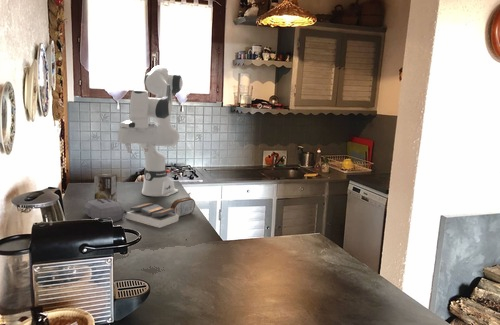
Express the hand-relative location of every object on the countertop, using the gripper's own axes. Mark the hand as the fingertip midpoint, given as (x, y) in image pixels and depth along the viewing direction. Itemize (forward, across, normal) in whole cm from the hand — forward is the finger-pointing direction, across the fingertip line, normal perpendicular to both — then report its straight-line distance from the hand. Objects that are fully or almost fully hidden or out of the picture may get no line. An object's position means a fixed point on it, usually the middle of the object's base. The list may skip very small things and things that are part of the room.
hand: (138, 152), depth 198 cm
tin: (+29, -14, +19) cm, 38 cm away
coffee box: (+29, +8, -15) cm, 34 cm away
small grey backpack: (+30, +17, +1) cm, 34 cm away
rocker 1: (+25, +4, +10) cm, 27 cm away
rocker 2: (+25, +2, +17) cm, 30 cm away
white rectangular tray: (+29, +3, +13) cm, 32 cm away
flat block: (+25, +1, +23) cm, 34 cm away
